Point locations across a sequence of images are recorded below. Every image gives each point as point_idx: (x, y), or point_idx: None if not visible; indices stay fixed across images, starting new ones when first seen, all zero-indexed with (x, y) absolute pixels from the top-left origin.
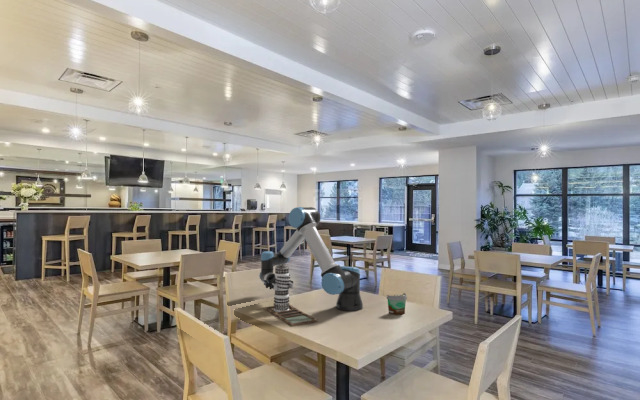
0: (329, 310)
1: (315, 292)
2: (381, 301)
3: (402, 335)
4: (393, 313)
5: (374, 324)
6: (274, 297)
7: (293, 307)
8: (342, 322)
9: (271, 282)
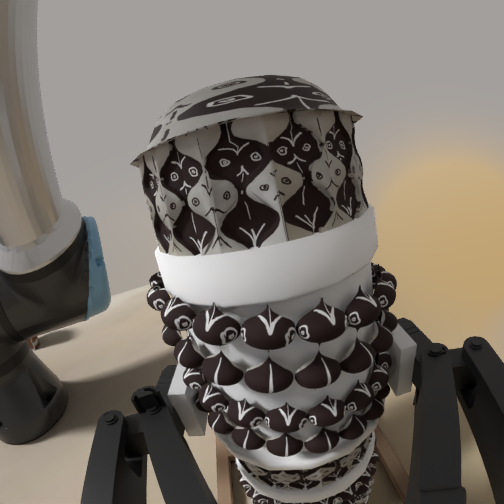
0: (95, 416)
1: None
2: None
3: (135, 289)
4: (38, 341)
5: (118, 317)
6: (372, 452)
7: (224, 489)
8: (160, 332)
9: (436, 394)
